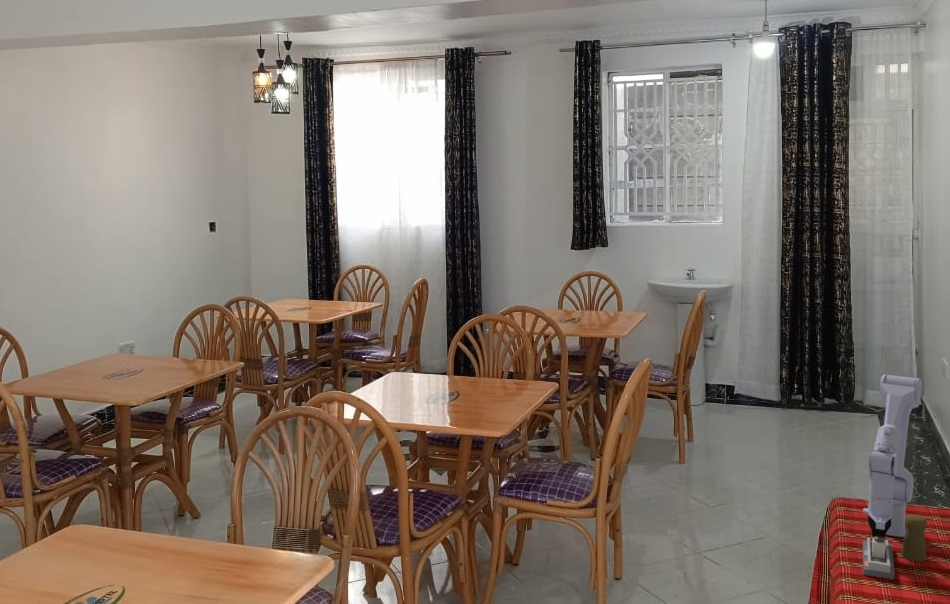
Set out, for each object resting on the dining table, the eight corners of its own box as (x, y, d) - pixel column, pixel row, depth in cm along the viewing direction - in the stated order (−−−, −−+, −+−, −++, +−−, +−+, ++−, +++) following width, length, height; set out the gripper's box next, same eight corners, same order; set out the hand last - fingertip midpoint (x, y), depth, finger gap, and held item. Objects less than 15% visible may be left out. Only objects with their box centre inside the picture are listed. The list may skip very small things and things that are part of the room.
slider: (871, 551, 224) (872, 534, 224) (884, 553, 223) (885, 536, 223) (871, 556, 222) (872, 539, 221) (884, 558, 221) (885, 541, 220)
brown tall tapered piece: (929, 562, 222) (932, 522, 220) (904, 560, 223) (907, 520, 221) (922, 551, 228) (925, 512, 226) (897, 550, 229) (900, 511, 227)
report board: (862, 545, 232) (863, 533, 231) (891, 549, 229) (892, 537, 229) (863, 574, 216) (864, 561, 215) (894, 579, 213) (895, 566, 212)
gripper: (864, 484, 233) (861, 531, 235) (864, 503, 220) (861, 553, 222) (892, 487, 230) (889, 535, 232) (895, 507, 217) (891, 558, 219)
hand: (877, 544), depth 227 cm, fingers closed
